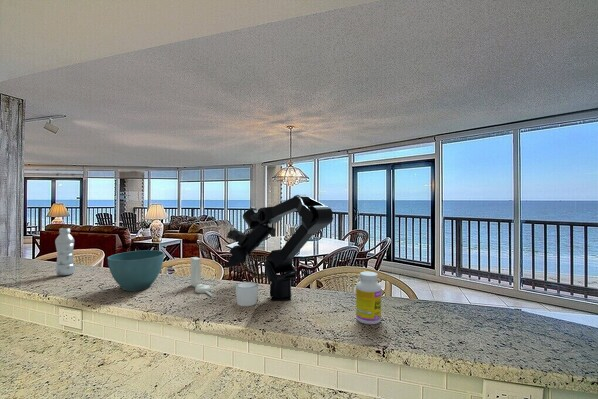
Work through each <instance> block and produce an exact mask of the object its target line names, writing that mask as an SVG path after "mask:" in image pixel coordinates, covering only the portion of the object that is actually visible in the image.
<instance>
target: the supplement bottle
mask: <svg viewBox="0 0 598 399" xmlns="http://www.w3.org/2000/svg"><path fill="white" fill-rule="evenodd" d="M378 277H379V276H378V273H377V272H373V271H362V272H361V271H360V272H359V278H360V281H358V282H357V283H356V288H355V289H356V292H355V293H356V295H355V296H356V298H355V299H356V300H355V304H356V305H355V309H356V310H355V318H356V320H357V321H358V322H359V323H362V324H365V325H376V324H379V323H380V322H381V319H382V286H381V284H380V283H379V282H378V281H377V280H378V279H379V278H378Z"/></svg>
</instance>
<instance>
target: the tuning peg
mask: <svg viewBox="0 0 598 399" xmlns="http://www.w3.org/2000/svg"><path fill="white" fill-rule="evenodd" d="M201 261H202V260H201V258H200V257H198V256H193V257H190V286H192V287H193V288H195V293H196V294H207V295H209V296H210V297H211V298H212V297H214V293H213V294H212V293H211V290H212V289H211V288H212V287H211V285H209V284H202V282H201V281H202V276H201V275H202V273H201V272H202V265H201V264H202V262H201Z"/></svg>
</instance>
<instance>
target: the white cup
mask: <svg viewBox="0 0 598 399" xmlns="http://www.w3.org/2000/svg"><path fill="white" fill-rule="evenodd" d="M258 290H259V284H258V283H257V282H254V281H243V282H242V281H241V282H238V283H236V284H235V295H236V296H235V297H236V304H237V306H241V307H251V306H255V307H254V309H257V302H258V295H259V294H258Z"/></svg>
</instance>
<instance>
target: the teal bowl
mask: <svg viewBox="0 0 598 399" xmlns="http://www.w3.org/2000/svg"><path fill="white" fill-rule="evenodd" d="M164 258H165V252H164V251H162V250H157V249H155V250H151V249H150V250H149V249H148V250H147V249H146V250H145V249H144V250H133V251H126V252H121V253H116V254H112V255H110V256H107V266H108V268H109V271H110V274H111V276H112V278H113V279H114V281H115V282H116V283H117V284H118V285H119V287H120V288H122V289H123V290H124V291H126V292H138V291H144V290H146V289H149V288H150V287H151V286H152V285H153V284H154V282H155V280H157V278H158V276H159V274H160V272H161V271H162V267H163V264H164Z"/></svg>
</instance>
